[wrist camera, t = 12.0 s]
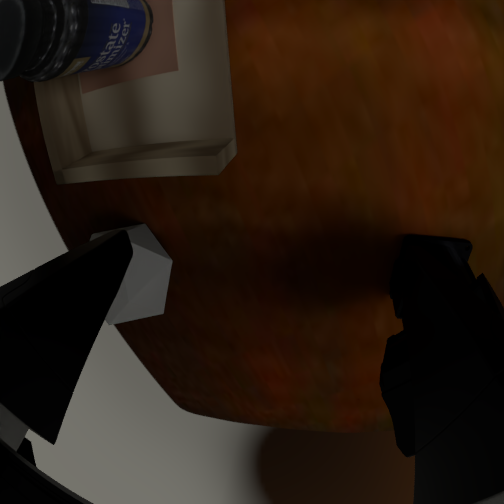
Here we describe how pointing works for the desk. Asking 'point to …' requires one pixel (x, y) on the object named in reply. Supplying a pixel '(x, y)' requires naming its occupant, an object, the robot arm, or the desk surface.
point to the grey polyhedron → (141, 278)
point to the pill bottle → (70, 36)
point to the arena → (148, 104)
